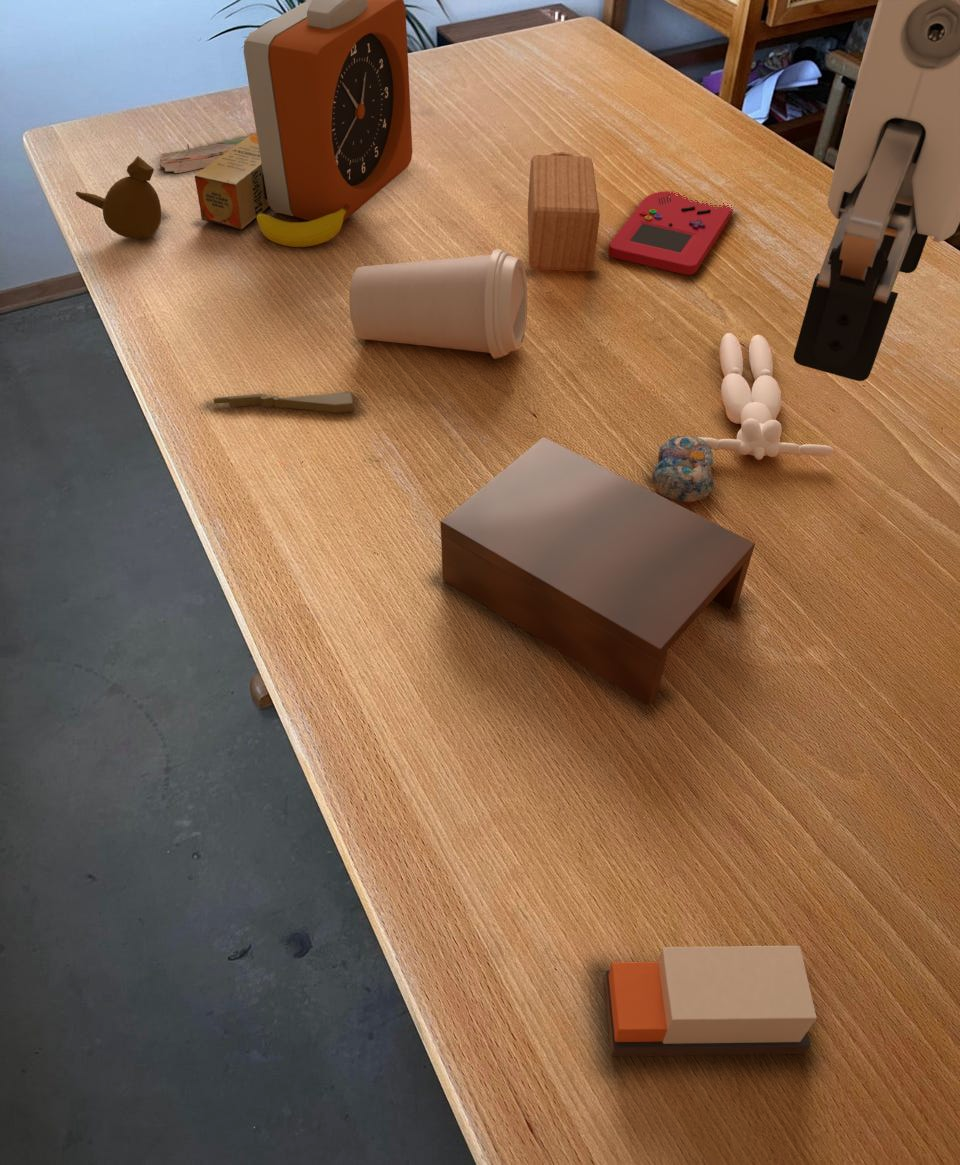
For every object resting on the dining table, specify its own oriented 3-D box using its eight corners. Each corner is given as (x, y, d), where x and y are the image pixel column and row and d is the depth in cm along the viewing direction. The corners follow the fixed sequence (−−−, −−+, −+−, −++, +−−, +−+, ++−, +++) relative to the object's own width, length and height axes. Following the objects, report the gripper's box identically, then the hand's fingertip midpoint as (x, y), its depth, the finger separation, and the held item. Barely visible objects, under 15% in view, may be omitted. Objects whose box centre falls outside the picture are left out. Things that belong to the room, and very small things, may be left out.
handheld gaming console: (735, 201, 111) (695, 264, 101) (733, 213, 112) (693, 277, 102) (653, 184, 113) (606, 244, 104) (651, 196, 114) (605, 256, 105)
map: (327, 140, 125) (327, 133, 124) (169, 176, 118) (167, 168, 117) (310, 122, 128) (310, 115, 127) (154, 156, 120) (152, 149, 119)
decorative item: (533, 209, 98) (530, 126, 111) (528, 271, 102) (526, 184, 116) (600, 212, 98) (589, 128, 111) (593, 274, 102) (583, 186, 116)
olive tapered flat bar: (355, 399, 89) (354, 390, 88) (353, 413, 87) (352, 404, 86) (216, 399, 89) (214, 390, 88) (212, 413, 87) (210, 404, 86)
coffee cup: (348, 365, 91) (509, 369, 88) (338, 256, 87) (507, 255, 84) (381, 344, 99) (529, 346, 96) (374, 243, 95) (528, 242, 92)
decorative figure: (804, 348, 94) (831, 476, 82) (675, 340, 95) (682, 466, 83) (814, 316, 91) (842, 444, 79) (680, 308, 92) (689, 434, 80)
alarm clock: (335, 233, 108) (311, 26, 93) (267, 215, 111) (233, 12, 96) (415, 163, 119) (406, -31, 104) (352, 149, 122) (334, -42, 107)
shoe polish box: (257, 176, 117) (202, 219, 109) (251, 133, 114) (194, 175, 106) (294, 184, 116) (241, 229, 108) (290, 141, 113) (235, 184, 105)
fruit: (349, 249, 106) (352, 211, 108) (344, 236, 104) (348, 197, 106) (255, 252, 107) (260, 214, 109) (249, 239, 105) (254, 200, 107)
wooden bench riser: (738, 601, 72) (755, 543, 68) (648, 706, 66) (660, 649, 62) (539, 495, 80) (543, 436, 76) (442, 579, 74) (439, 521, 69)
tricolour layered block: (788, 976, 54) (809, 941, 51) (805, 1054, 51) (828, 1022, 48) (603, 978, 54) (612, 943, 51) (611, 1056, 51) (620, 1025, 48)
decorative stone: (716, 504, 77) (660, 473, 76) (688, 525, 81) (635, 496, 80) (736, 440, 80) (683, 409, 79) (709, 464, 84) (658, 435, 83)
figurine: (181, 230, 108) (156, 216, 112) (158, 154, 103) (133, 142, 107) (113, 254, 105) (91, 239, 109) (86, 177, 100) (63, 164, 103)
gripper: (1100, -54, 27) (900, 446, 39) (1143, -179, 37) (974, 248, 50) (821, -91, 29) (717, 392, 42) (935, -199, 39) (824, 213, 52)
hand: (857, 313), depth 46 cm, fingers open, 9 cm apart
